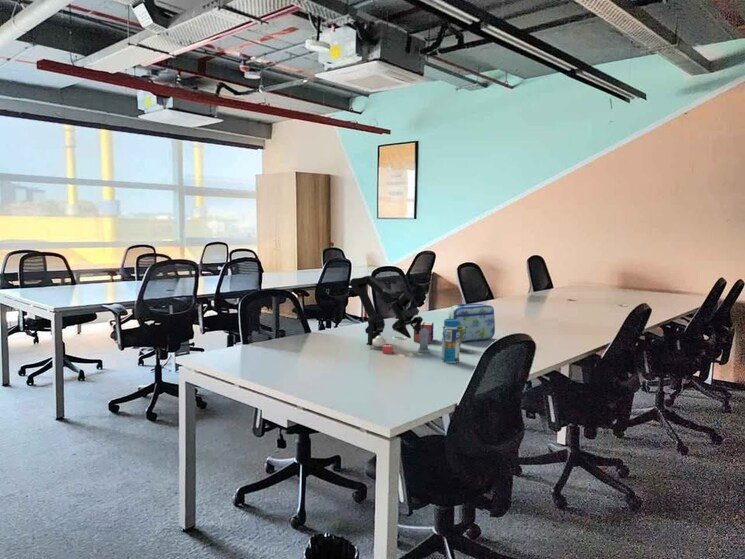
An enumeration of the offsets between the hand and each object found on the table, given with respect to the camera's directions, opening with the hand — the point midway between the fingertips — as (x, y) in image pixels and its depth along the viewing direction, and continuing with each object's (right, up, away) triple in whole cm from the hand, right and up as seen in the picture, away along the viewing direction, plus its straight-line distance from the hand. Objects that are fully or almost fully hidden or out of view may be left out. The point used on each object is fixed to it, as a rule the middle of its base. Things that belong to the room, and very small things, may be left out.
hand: (416, 336), depth 273 cm
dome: (-19, -5, +6) cm, 20 cm away
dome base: (-19, -8, +6) cm, 21 cm away
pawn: (+4, -7, -3) cm, 9 cm away
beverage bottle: (+15, -10, -16) cm, 24 cm away
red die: (-15, -9, -4) cm, 17 cm away
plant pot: (+20, -8, +12) cm, 25 cm away
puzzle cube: (+7, -6, +31) cm, 33 cm away
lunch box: (+34, -6, +35) cm, 49 cm away
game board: (-1, -9, -6) cm, 11 cm away
